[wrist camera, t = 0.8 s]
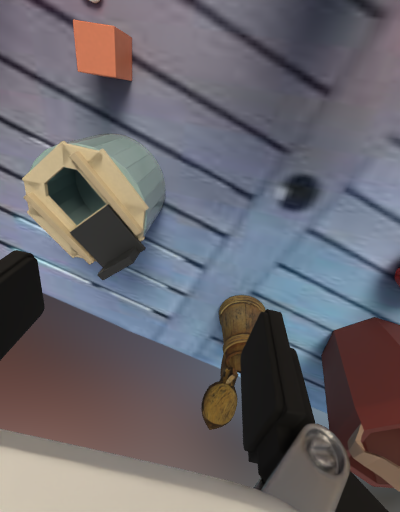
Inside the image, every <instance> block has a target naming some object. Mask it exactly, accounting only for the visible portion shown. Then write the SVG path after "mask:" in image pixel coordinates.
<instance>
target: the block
mask: <svg viewBox="0 0 400 512" xmlns="http://www.w3.org/2000/svg"><path fill="white" fill-rule="evenodd" d="M73 26H74V37H75V47H76V57H77V68H78V72H83V73H88V74H93V75H98V76H104V77H110V78H116V79H122V80H128V81H132V37H130V36H128V35H127V34H125V33H124V32H122V31H121V30H119V29H118V28H116V27H114V26H110V25H104V24H98V23H91V22H85V21H79V20H73Z"/></svg>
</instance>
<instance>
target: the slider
mask: <svg viewBox="0 0 400 512" xmlns="http://www.w3.org/2000/svg"><path fill="white" fill-rule="evenodd" d="M70 234H71V235H72V236H73V237H74V238H75V239H76V240H77V241H78V242H79V243H80V244H81V245H82V246H83V247H84V248H85V249H86V250H87V251H88V252H89V254H90V255H91V256H92V257H93V258H94V259H95V260H96V261H97V262H98V263H99V264H100V265H101V266H102V267H103V268H102V269H101V271H100V272H99V273H98V276H99V277H100V278H101V279H102V280H105V279H106V278H108V277H110V276H112V275H113V274H115V273H117V272H119V271H120V270H122V269H124V268H126V267H127V266H129V265H131V264H133V263H134V261H135V260H136V258H137V257H138V255H139V253H140V252H142V251H143V250H145V247H144V245H143V244H142V243H141V242H140V241H139V240H138V238H137V237H136V236H135V235H134V234H133V232H132V231H131V230H130V229H129V228H128V226H127V225H126V224H125V223H124V222H123V221H122V219H121V218H120V217H119V216H118V215H117V213H116V212H115V211H114V210H113V209H112V207H111V206H110V205H109V204H108V205H107V206H105V207H104V208H103V209H101V210H100V211H98V212H97V213H96V214H94V215H93V216H91V217H90V218H89V219H87V220H86V221H85V222H83V223H82V224H80V225H79V226H78V227H76V228H75V229H73V230H72V231H71V232H70Z"/></svg>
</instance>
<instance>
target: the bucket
mask: <svg viewBox="0 0 400 512" xmlns="http://www.w3.org/2000/svg"><path fill="white" fill-rule="evenodd" d="M321 356H322V366H323V375H324V384H325V393H326V403H327V412H328V421H329V430H330V431H331V432H333V433H334V434H335V435H336V437H337V438H338V439H339V440H340V441H341V443H342V444H343V446H344V448H345V449H346V452H347V454H348V457H349V462H350V471H351V472H352V473H354V474H355V475H357V476H358V477H360V478H361V479H363V480H364V481H366V482H367V483H369V484H370V485H372V486H374V487H388V488H395V489H396V490H398V491H399V492H400V325H398V324H395V323H392V322H389V321H385V320H382V319H379V318H376V317H374V318H371V319H368V320H364V321H361V322H358V323H355V324H352V325H349V326H346V327H343V328H340V329H337V330H334V331H333V333H332V335H331V337H330V339H329V341H328V343H327V345H326V347H325V349H324V351H323V353H322V355H321Z"/></svg>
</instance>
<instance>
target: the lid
mask: <svg viewBox="0 0 400 512" xmlns="http://www.w3.org/2000/svg"><path fill="white" fill-rule="evenodd" d="M64 167H66V168H71V169H75V170H78V171H79V172H80V174H81V175H82V176H83V177H84V178H85V180H86V181H87V182H88V183H89V184H90V185H91V187H92V188H93V189H94V190H95V191H96V193H97V194H98V195H99V196H100V197H101V198H102V200H103V201H104V202H105V203H106V205H105V206H107V205H108V204H109V205H110V206H111V207H112V209H113V210H114V211H115V212H116V213H117V215H118V216H119V217H120V218H121V219H122V221H123V222H124V223H125V224H126V225H127V226H128V228H129V229H130V230H131V231H132V232H133V234H134V235H135V236H136V237H137V238H138V240H139V241H140V242H141V241H143V240H144V238H145V237H144V236H143V235H144V224H145V212H146V210H147V209H148V208H149V207H148V206H147V204H146V203H145V202H144V201H143V199H142V198H141V197H140V195H139V194H138V193H137V191H136V190H135V189H134V188H133V186H132V185H131V184H130V182H129V181H128V180H127V179H126V177H125V176H124V175H123V173H122V172H121V171H120V169H119V168H118V167H117V166H116V164H115V163H114V162H113V160H112V159H111V158H110V156H109V155H108V154H107V153H106V151H105V150H104V149H100V150H99V151H98V150H93V149H89V148H85V147H81V146H76V145H72V144H68V143H66V142H65V141H62V142H61V143H59V144H58V145H57V146H56V147H55V148H54V149H53V150H52V151H51V152H50V153H49V154H48V155H47V156H46V157H45V158H44V159H43V160H41V161H40V162H39V163H38V164H37V165H36V166H35V167H34V168H33V169H32V170H31V171H30V172H29V173H28V174H27V175H26V176H25V177H23V178H22V180H23V181H24V185H25V190H26V196H24V199H25V200H26V201H27V202H28V207H29V211H27V213H28V214H29V215H30V216H31V217H32V218H33V219H34V220H35V221H36V222H37V223H38V224H39V225H40V226H41V227H42V228H43V229H44V230H45V231H46V232H47V233H48V234H49V235H50V236H51V237H52V238H53V239H54V240H55V241H56V242H57V243H58V244H59V245H60V246H61V247H62V248H63V249H64V250H65V251H66V252H67V253H68V254H69V255H70V256H71V257H72V258H74V257H79V258H83V259H84V260H85V261H86V262H87V263H88V264H89V265H90V264H92V263H93V262H94V261H96V260H95V259H94V258H93V257H92V256H91V255H90V254H89V252H88V251H87V250H86V249H85V248H84V247H83V246H82V245H81V244H80V243H79V242H78V241H77V240H76V239H75V238H74V237H73V236H72V235H71V234H70V232H71V231H72V230H73V229H75V228H76V227H78V226H79V225H80V224H82V223H83V222H85V221H86V220H87V219H89V218H90V217H91V216H93V215H94V214H96V213H97V212H98V211H100V210H101V209H103V208H104V207H105V206H103V207H102V208H101V209H99V210H98V211H96V212H95V213H94V214H92V215H91V216H89V217H88V218H87V219H85V220H84V221H83V222H81V223H80V224H78V225H76V224H75V223H74V222H73V221H72V220H71V219H70V217H69V216H68V215H67V214H66V213H65V212H64V211H63V210H62V209H61V208H60V207H59V206H58V205H57V204H56V203H55V201H54V200H53V199H52V198H51V197H50V196H49V193H48V185H47V182H48V181H49V180H51V179H52V178H53V177H54V176H55V175H56V174H57V173H58V172H60V171H61V170H62V169H63V168H64Z"/></svg>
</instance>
